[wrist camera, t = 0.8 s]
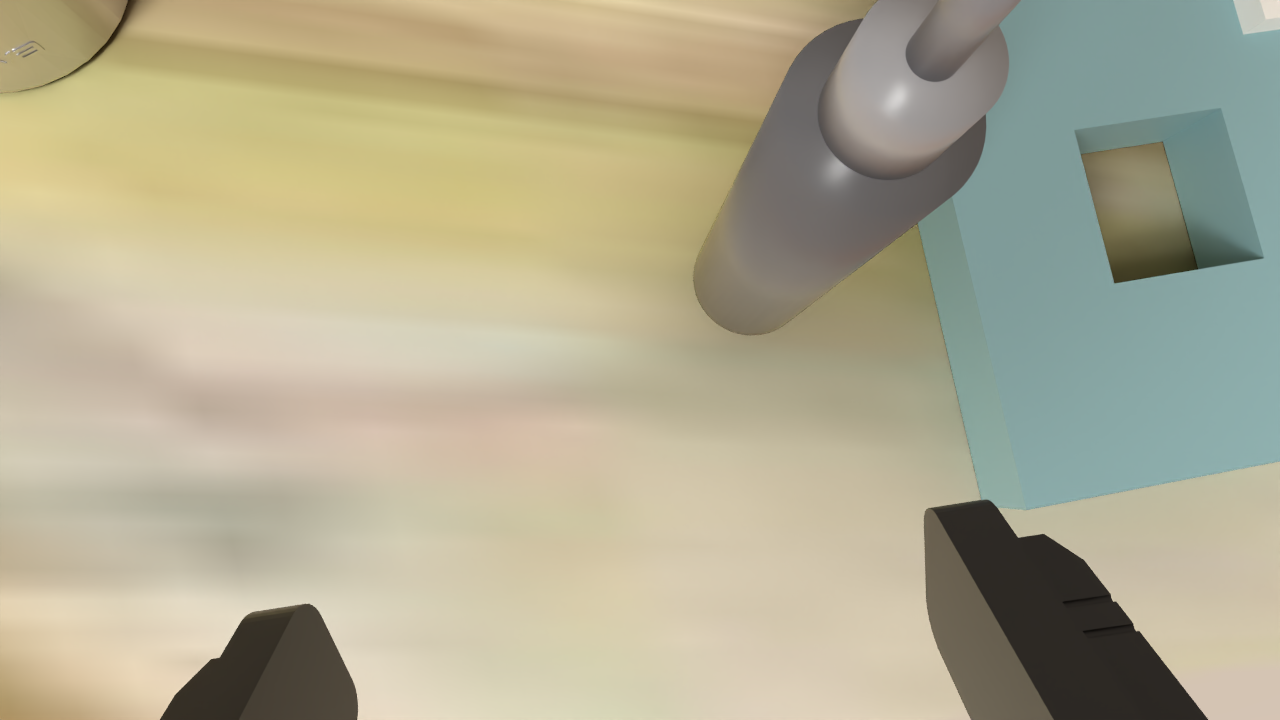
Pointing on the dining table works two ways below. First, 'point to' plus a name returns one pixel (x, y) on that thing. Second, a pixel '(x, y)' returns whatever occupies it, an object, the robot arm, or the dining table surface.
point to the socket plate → (1078, 264)
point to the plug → (853, 155)
